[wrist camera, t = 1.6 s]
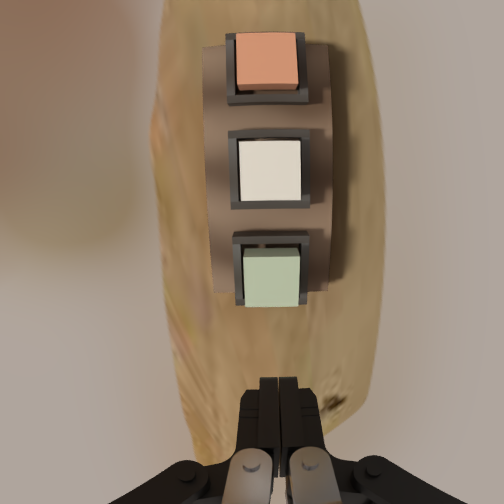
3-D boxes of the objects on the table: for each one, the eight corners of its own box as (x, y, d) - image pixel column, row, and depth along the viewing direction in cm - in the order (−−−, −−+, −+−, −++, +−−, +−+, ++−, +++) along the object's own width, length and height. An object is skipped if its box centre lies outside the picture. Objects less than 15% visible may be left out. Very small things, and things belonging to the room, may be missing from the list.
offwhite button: (241, 142, 21) (239, 141, 19) (296, 142, 20) (300, 140, 18) (243, 196, 22) (241, 200, 20) (297, 196, 22) (300, 200, 20)
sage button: (244, 248, 23) (243, 257, 21) (297, 247, 23) (299, 256, 21) (246, 295, 24) (245, 307, 22) (295, 294, 24) (298, 306, 22)
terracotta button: (238, 43, 18) (236, 33, 16) (292, 42, 18) (294, 32, 16) (239, 90, 19) (237, 84, 17) (295, 89, 19) (298, 83, 17)
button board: (206, 50, 21) (198, 36, 18) (322, 48, 21) (330, 34, 17) (217, 287, 28) (211, 305, 25) (323, 286, 28) (330, 303, 24)
